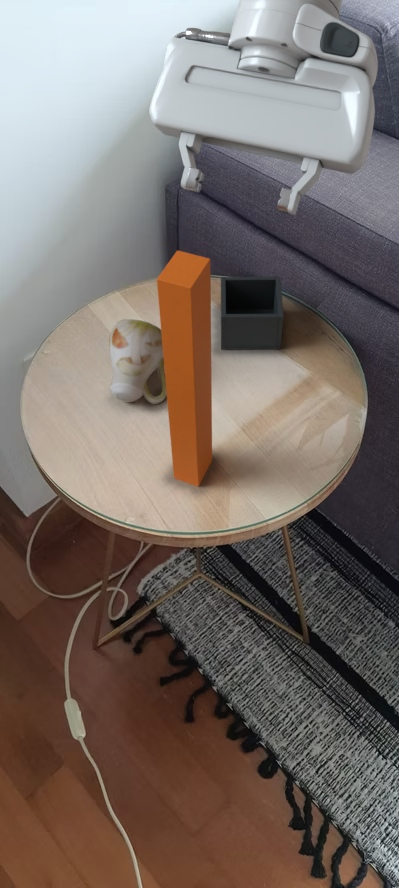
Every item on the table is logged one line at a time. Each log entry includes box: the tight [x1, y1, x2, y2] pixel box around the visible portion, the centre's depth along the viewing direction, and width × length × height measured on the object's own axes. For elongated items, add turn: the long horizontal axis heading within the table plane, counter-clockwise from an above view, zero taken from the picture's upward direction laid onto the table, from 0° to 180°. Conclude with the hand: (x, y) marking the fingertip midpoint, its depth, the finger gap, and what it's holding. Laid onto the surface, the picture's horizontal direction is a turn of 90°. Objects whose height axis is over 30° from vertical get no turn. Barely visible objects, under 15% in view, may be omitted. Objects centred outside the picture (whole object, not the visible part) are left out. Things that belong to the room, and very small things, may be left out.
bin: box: [220, 276, 285, 351], centre depth 89 cm, size 8×8×6 cm
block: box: [156, 250, 213, 487], centre depth 67 cm, size 3×4×28 cm
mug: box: [108, 318, 167, 405], centre depth 85 cm, size 8×10×10 cm
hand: (237, 200), depth 63 cm, fingers open, 8 cm apart
